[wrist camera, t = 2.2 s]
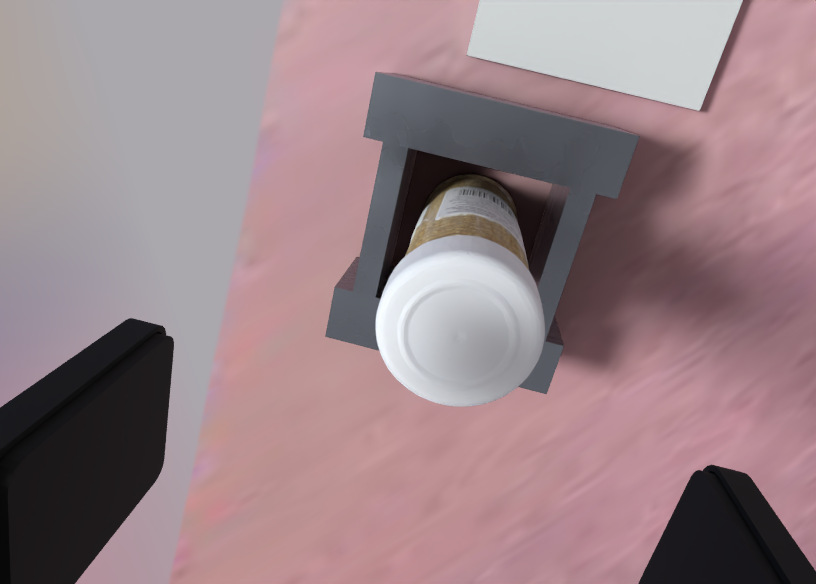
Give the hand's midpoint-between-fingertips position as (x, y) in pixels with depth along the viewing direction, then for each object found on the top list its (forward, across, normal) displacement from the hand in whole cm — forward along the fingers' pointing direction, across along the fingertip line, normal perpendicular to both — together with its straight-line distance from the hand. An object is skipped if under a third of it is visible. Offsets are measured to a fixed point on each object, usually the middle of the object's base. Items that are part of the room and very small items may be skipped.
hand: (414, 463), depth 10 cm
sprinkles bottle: (+19, -1, 0) cm, 19 cm away
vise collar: (+19, -1, 0) cm, 19 cm away
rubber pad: (+19, -4, -11) cm, 22 cm away
